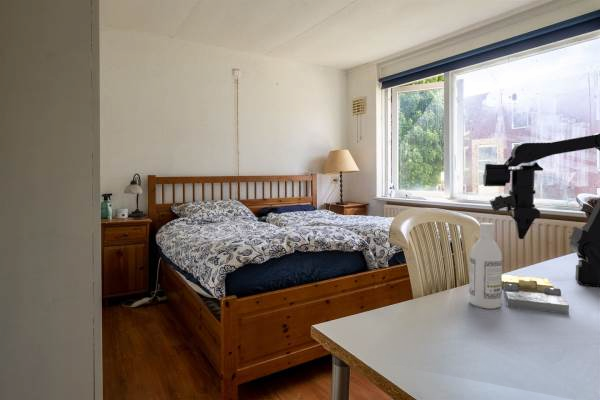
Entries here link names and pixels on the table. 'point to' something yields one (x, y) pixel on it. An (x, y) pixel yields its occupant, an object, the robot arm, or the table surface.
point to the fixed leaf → (536, 299)
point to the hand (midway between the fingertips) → (520, 238)
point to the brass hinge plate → (527, 283)
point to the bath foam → (485, 270)
